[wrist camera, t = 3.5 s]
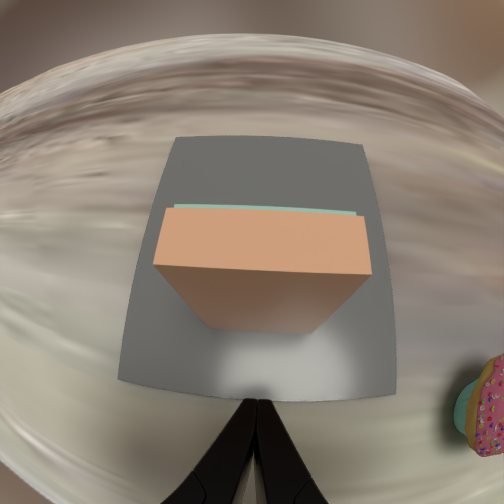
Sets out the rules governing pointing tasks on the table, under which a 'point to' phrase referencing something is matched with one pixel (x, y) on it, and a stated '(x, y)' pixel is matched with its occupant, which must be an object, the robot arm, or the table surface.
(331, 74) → the table surface
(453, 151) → the table surface
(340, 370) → the board
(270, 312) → the tile
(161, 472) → the table surface
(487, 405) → the cupcake
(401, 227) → the table surface
